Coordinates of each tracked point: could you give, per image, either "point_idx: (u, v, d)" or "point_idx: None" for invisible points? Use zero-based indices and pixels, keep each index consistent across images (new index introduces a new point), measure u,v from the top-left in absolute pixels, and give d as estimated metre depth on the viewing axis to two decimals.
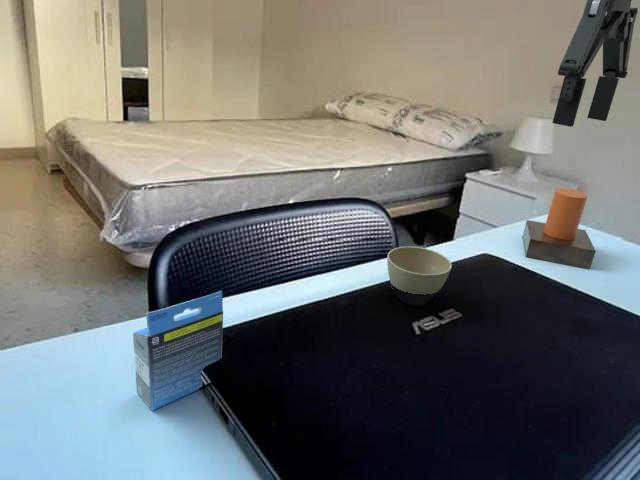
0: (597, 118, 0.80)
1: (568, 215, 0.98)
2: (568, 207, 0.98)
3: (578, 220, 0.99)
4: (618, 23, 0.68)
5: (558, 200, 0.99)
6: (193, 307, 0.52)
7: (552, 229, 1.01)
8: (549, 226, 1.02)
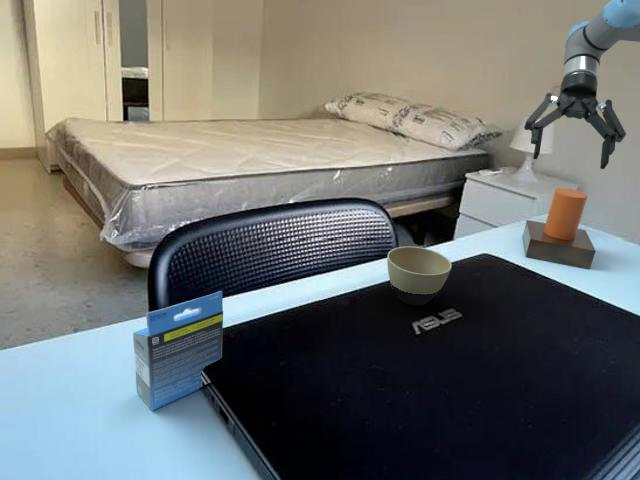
0: (602, 164, 1.06)
1: (568, 215, 0.98)
2: (568, 207, 0.98)
3: (578, 220, 0.99)
4: (570, 102, 1.11)
5: (558, 200, 0.99)
6: (193, 307, 0.52)
7: (552, 229, 1.01)
8: (549, 226, 1.02)
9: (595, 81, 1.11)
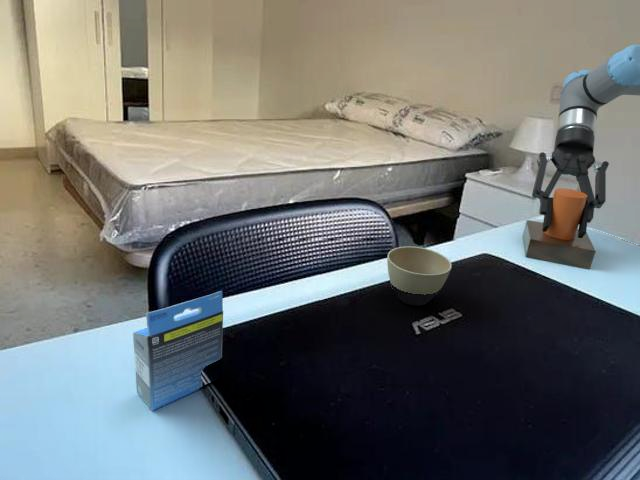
0: (580, 233, 0.98)
1: (568, 215, 0.98)
2: (568, 207, 0.98)
3: (578, 220, 0.99)
4: (565, 159, 1.03)
5: (558, 200, 0.99)
6: (193, 307, 0.52)
7: (552, 229, 1.01)
8: (549, 226, 1.02)
9: (592, 136, 1.04)
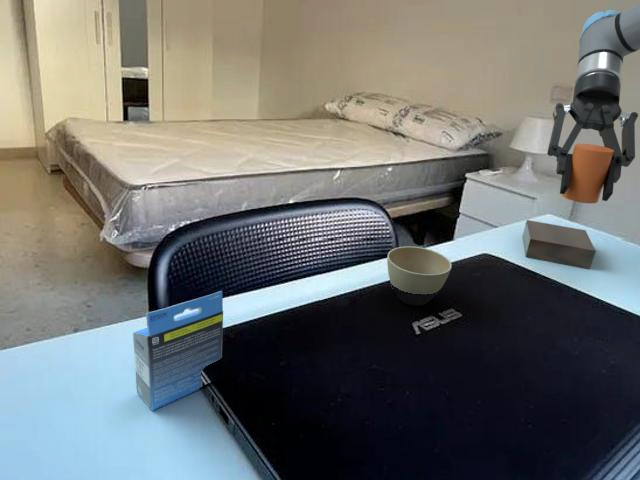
0: (605, 194, 0.83)
1: (591, 173, 0.83)
2: (591, 164, 0.83)
3: (603, 179, 0.84)
4: (586, 110, 0.88)
5: (579, 155, 0.84)
6: (193, 307, 0.52)
7: (571, 191, 0.86)
8: (568, 187, 0.86)
9: (618, 83, 0.89)
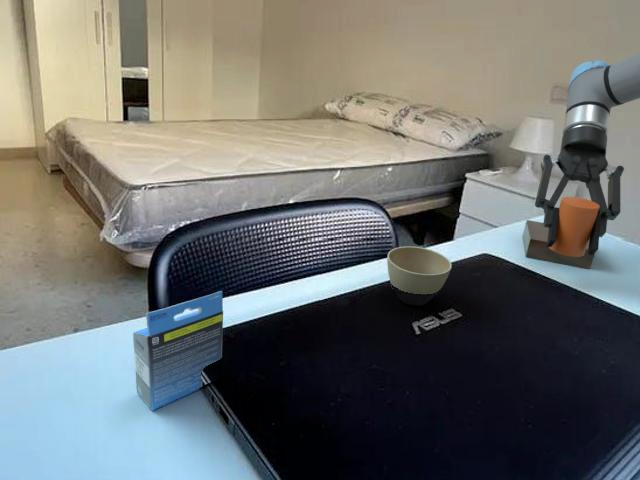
0: (591, 249, 0.84)
1: (577, 228, 0.85)
2: (577, 219, 0.84)
3: (588, 234, 0.86)
4: (573, 163, 0.90)
5: (565, 211, 0.85)
6: (193, 307, 0.52)
7: (558, 245, 0.87)
8: None
9: (604, 136, 0.90)
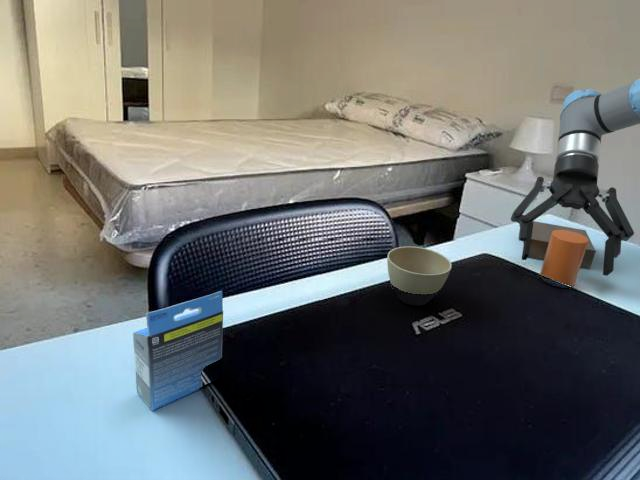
0: (606, 270, 0.86)
1: (567, 262, 0.87)
2: (567, 253, 0.87)
3: (578, 267, 0.88)
4: (565, 190, 0.92)
5: (555, 244, 0.88)
6: (193, 307, 0.52)
7: (548, 277, 0.90)
8: (545, 272, 0.90)
9: (596, 164, 0.92)
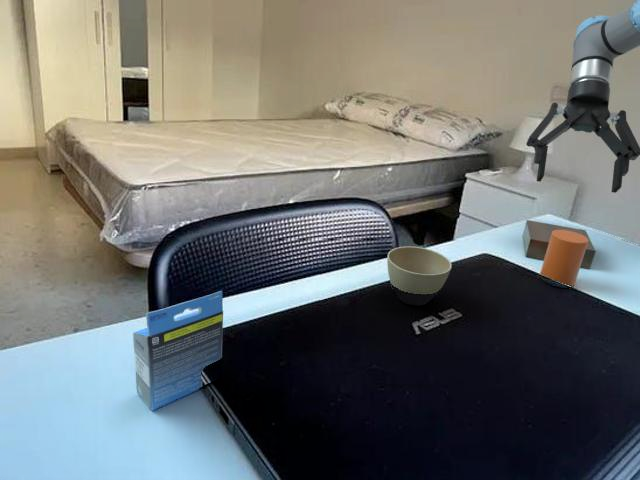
0: (614, 187, 0.94)
1: (567, 262, 0.87)
2: (567, 253, 0.87)
3: (578, 267, 0.88)
4: (578, 114, 0.98)
5: (555, 244, 0.88)
6: (193, 307, 0.52)
7: (548, 277, 0.90)
8: (545, 272, 0.90)
9: (607, 89, 0.98)
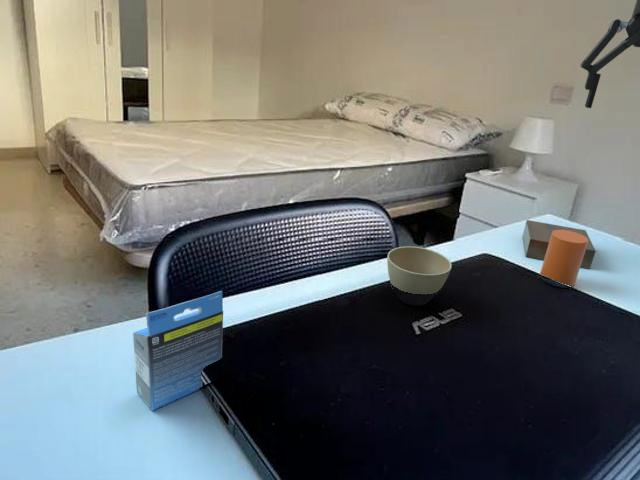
0: None
1: (567, 262, 0.87)
2: (567, 253, 0.87)
3: (578, 267, 0.88)
4: None
5: (555, 244, 0.88)
6: (193, 307, 0.52)
7: (548, 277, 0.90)
8: (545, 272, 0.90)
9: None
